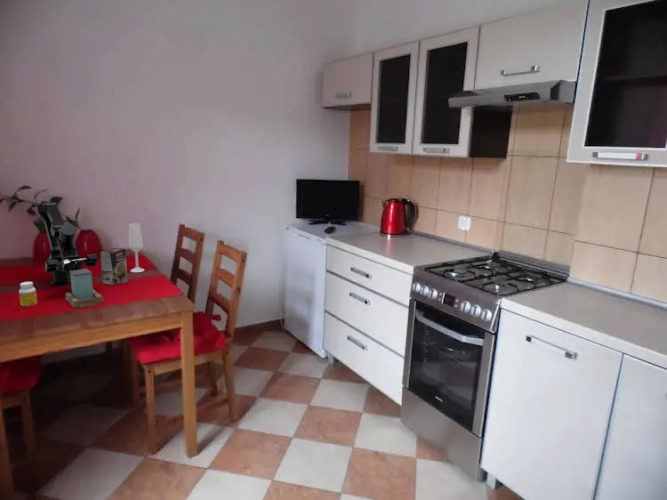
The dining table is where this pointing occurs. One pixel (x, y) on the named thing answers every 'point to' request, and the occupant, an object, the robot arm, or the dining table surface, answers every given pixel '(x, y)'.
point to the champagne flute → (135, 243)
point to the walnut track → (84, 303)
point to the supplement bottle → (27, 294)
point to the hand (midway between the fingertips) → (77, 280)
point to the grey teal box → (81, 284)
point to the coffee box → (114, 266)
